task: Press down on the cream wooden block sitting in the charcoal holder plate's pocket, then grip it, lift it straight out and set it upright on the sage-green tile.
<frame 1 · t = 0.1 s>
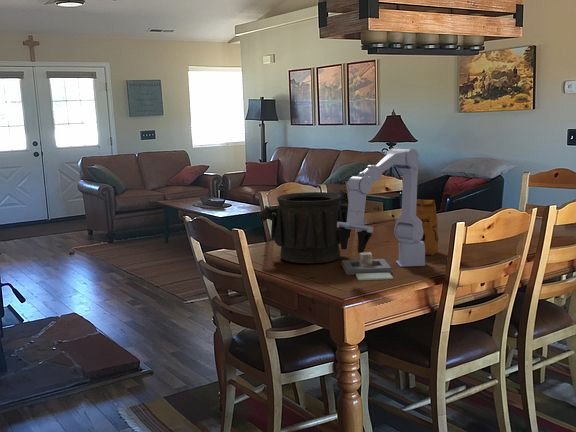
hand: (352, 250, 218), 11 cm above the table, tool pointing down, fingers open, 7 cm apart
green tile: (374, 277, 224), on the table
cream block: (365, 261, 234), in the holder plate
holder plate: (365, 269, 235), on the table
vessel: (310, 258, 255), on the table
coffee package: (422, 253, 259), on the table
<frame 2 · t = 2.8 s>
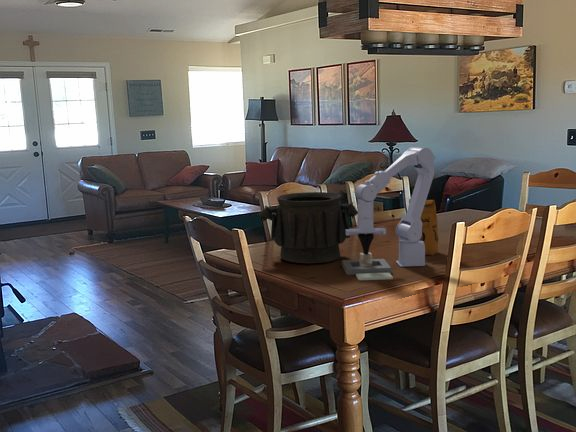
hand: (365, 253, 234), 6 cm above the table, tool pointing down, fingers closed, pressing on cream block
cream block: (365, 261, 234), in the holder plate, touching gripper
everything else where it was.
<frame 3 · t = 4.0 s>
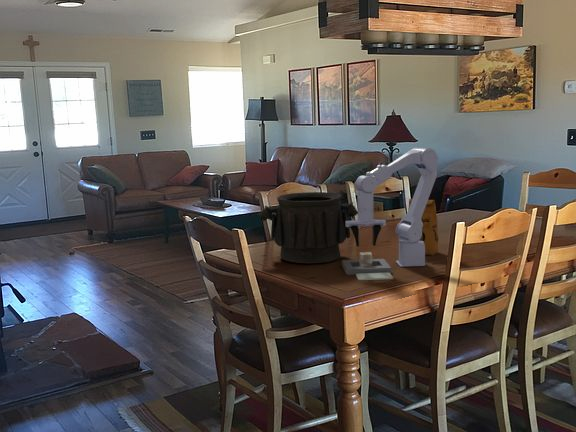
hand: (365, 245, 233), 9 cm above the table, tool pointing down, fingers open, 5 cm apart
cream block: (365, 261, 234), in the holder plate
everything else where it was.
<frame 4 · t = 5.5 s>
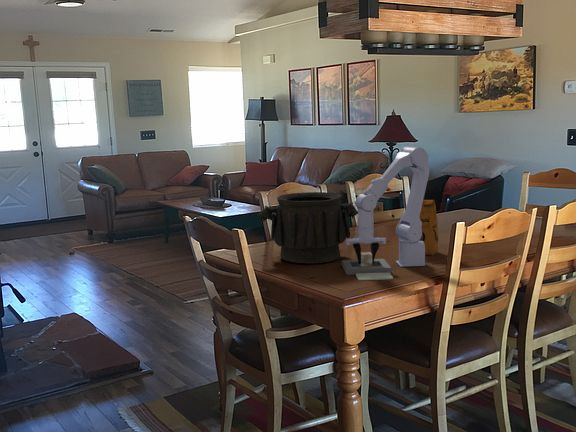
hand: (365, 263, 234), 2 cm above the table, tool pointing down, fingers closed on cream block, 4 cm apart
cream block: (365, 261, 234), in the holder plate, touching gripper
everything else where it was.
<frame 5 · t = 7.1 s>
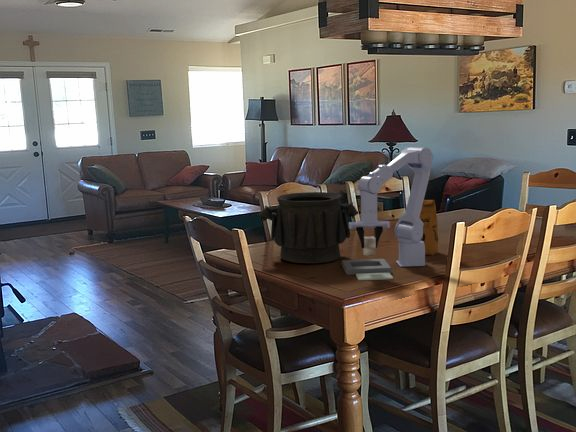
hand: (369, 247, 228), 9 cm above the table, tool pointing down, fingers closed on cream block, 4 cm apart
cream block: (369, 245, 228), point 10 cm above the table, touching gripper
everything else where it was.
when the fingers open (4 cm above the table, at t = 8.8 s): cream block drops 1 cm, resting on green tile.
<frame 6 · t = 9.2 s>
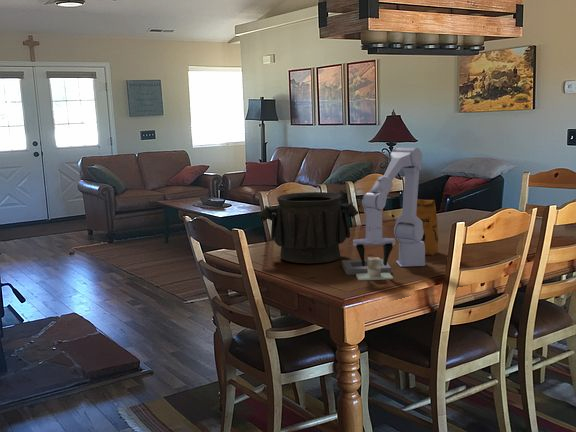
hand: (374, 265, 223), 4 cm above the table, tool pointing down, fingers open, 7 cm apart
cream block: (374, 267, 223), on the green tile, point 4 cm above the table
everything else where it was.
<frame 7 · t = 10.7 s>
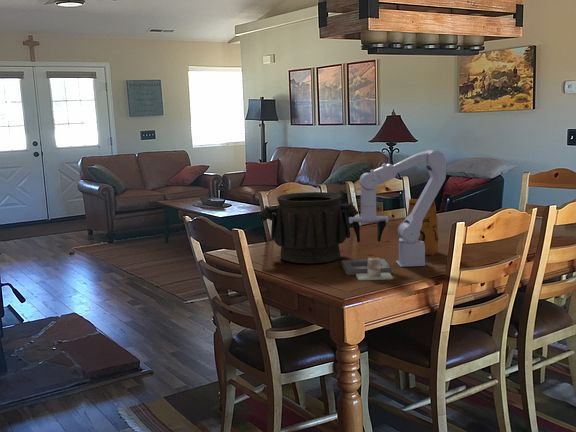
hand: (368, 241, 238), 9 cm above the table, tool pointing down, fingers open, 7 cm apart
nothing on the table moved.
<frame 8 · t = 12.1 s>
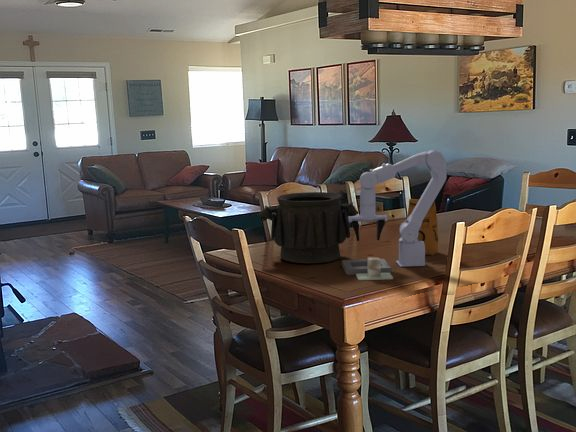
hand: (367, 240, 240), 9 cm above the table, tool pointing down, fingers open, 7 cm apart
nothing on the table moved.
at the end: cream block inside the target area on the green tile (0.3 cm from its centre), point 3.6 cm above the green tile's base; cream block tilted 0°; the gripper is holding nothing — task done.
